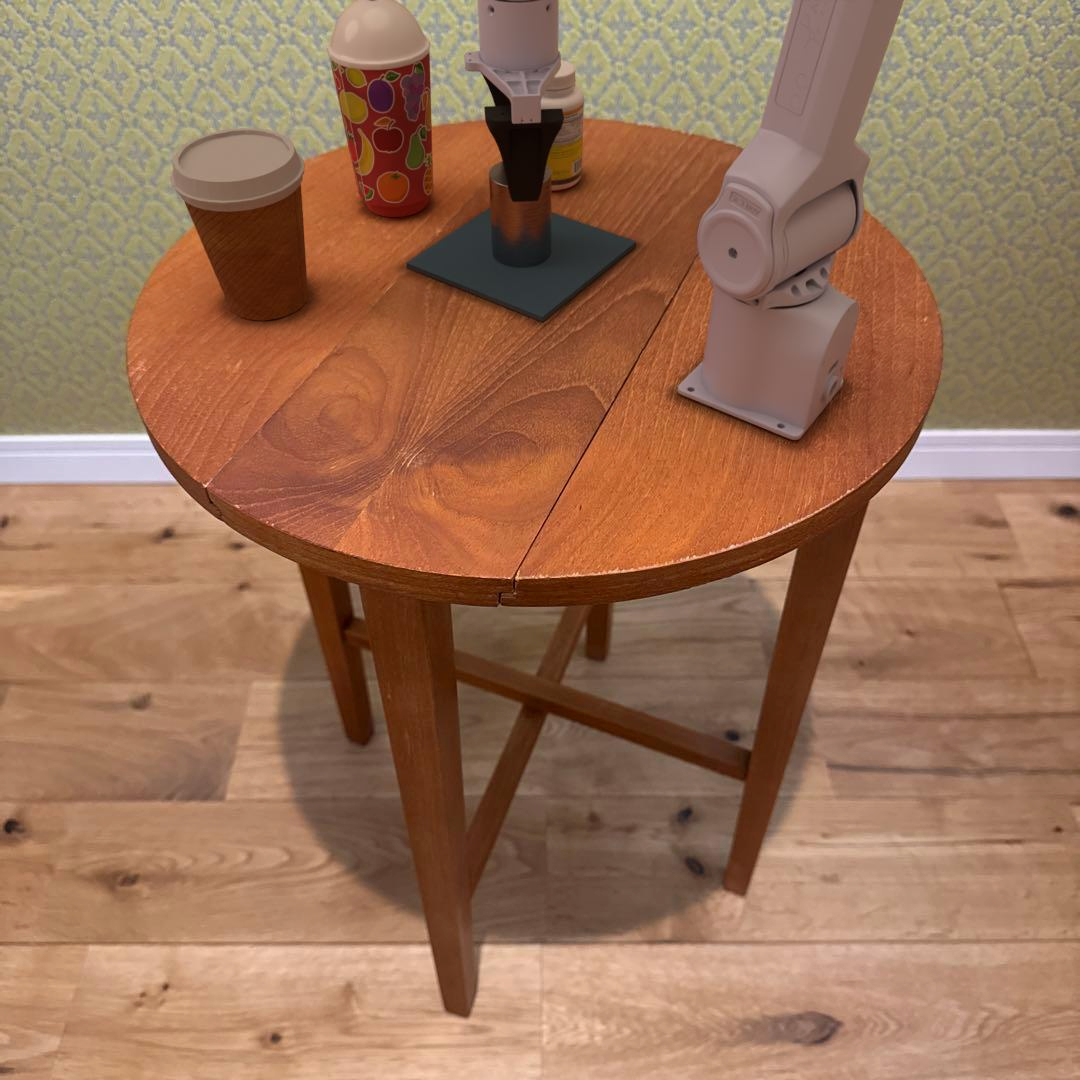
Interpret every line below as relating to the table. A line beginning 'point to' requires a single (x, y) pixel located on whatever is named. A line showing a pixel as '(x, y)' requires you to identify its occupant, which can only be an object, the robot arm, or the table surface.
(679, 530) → the table surface
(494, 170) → the cylinder
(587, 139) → the table surface
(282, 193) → the disposable coffee cup
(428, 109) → the smoothie
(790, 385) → the robot arm
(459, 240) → the mat
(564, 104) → the supplement bottle
